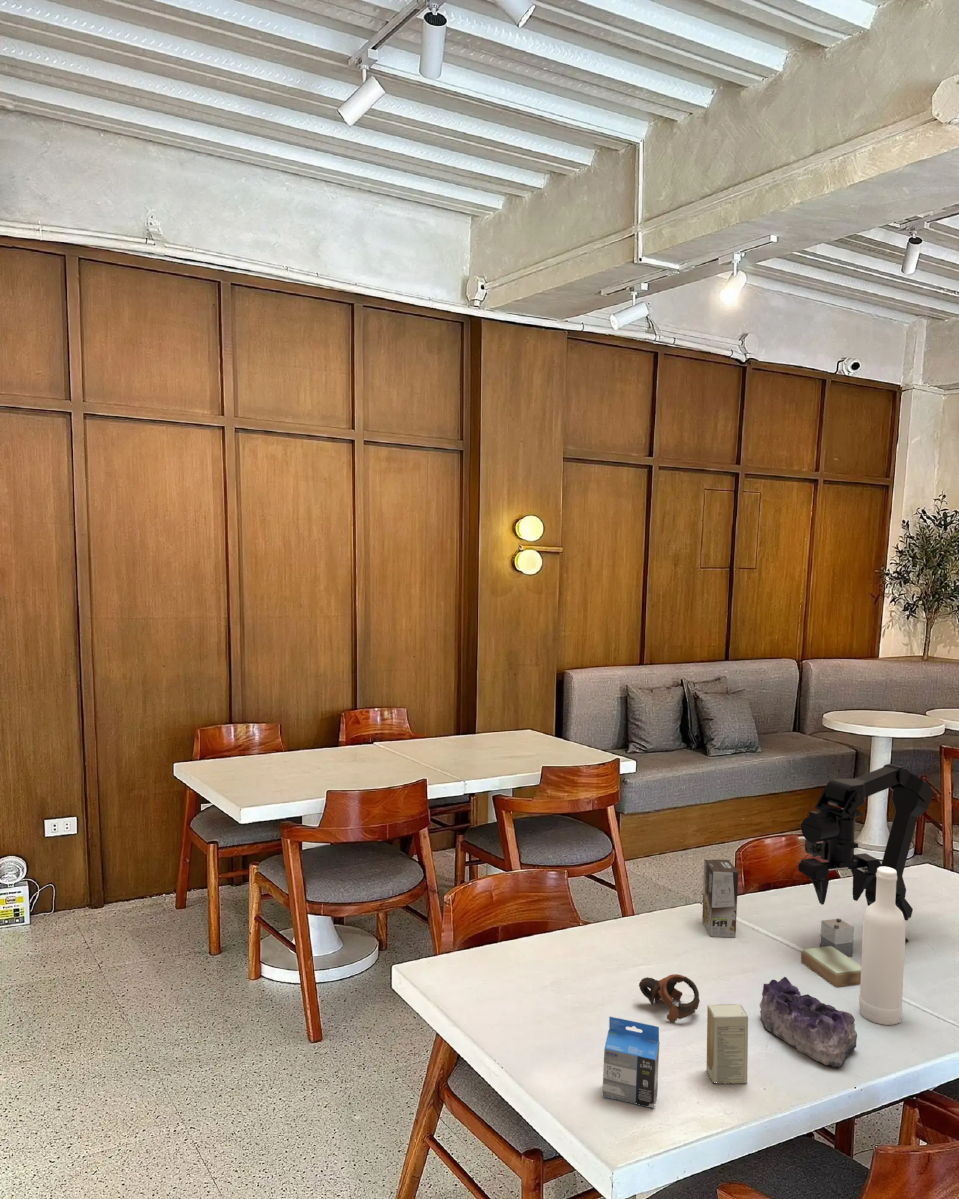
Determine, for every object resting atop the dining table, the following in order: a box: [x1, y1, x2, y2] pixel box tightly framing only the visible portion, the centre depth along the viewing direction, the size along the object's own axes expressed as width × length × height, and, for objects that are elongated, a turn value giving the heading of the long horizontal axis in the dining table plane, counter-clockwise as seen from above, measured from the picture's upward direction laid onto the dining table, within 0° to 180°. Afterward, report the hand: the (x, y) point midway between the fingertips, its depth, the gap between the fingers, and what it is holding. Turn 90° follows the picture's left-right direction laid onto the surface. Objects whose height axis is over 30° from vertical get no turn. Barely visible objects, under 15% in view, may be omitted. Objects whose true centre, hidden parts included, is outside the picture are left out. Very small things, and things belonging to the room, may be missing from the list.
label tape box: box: [602, 1016, 661, 1109], centre depth 149 cm, size 9×4×12 cm, turn 69°
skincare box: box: [706, 1003, 749, 1085], centre depth 155 cm, size 6×4×12 cm
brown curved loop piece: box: [638, 973, 701, 1023], centre depth 178 cm, size 12×10×8 cm
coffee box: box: [702, 859, 739, 938], centre depth 217 cm, size 9×6×16 cm
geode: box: [759, 976, 858, 1069], centre depth 168 cm, size 20×12×10 cm, turn 34°
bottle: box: [858, 866, 907, 1026], centre depth 177 cm, size 8×8×30 cm
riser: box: [800, 946, 861, 988], centre depth 196 cm, size 8×12×3 cm, turn 16°
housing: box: [819, 918, 855, 958], centre depth 206 cm, size 5×5×7 cm
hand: (838, 902), depth 205 cm, fingers open, 9 cm apart
